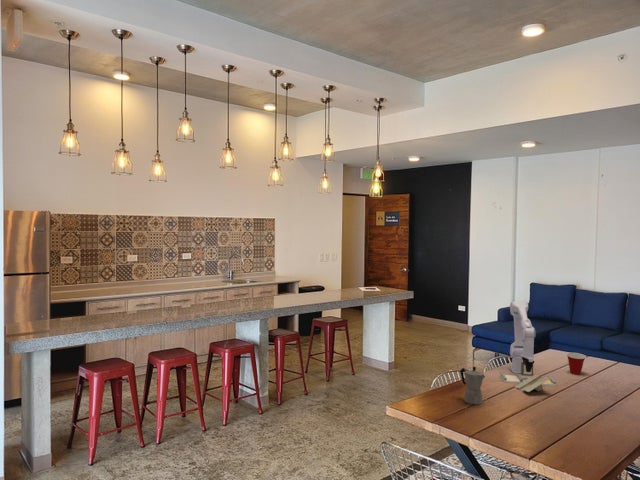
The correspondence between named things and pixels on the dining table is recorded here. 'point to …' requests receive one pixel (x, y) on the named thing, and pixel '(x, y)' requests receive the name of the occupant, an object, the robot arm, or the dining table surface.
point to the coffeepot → (472, 385)
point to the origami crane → (532, 383)
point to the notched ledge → (522, 378)
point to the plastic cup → (575, 362)
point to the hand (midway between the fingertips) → (527, 370)
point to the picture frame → (523, 370)
